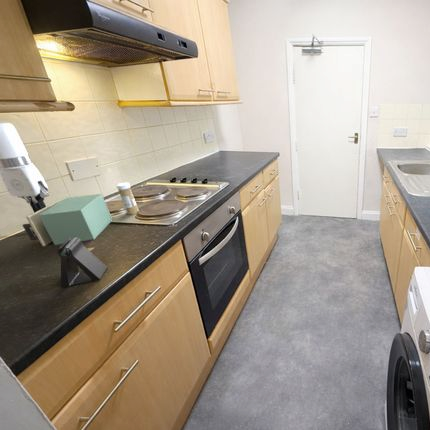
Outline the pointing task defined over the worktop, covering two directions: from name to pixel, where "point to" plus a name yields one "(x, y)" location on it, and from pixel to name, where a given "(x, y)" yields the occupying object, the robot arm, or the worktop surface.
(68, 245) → the phone stand
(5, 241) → the worktop surface
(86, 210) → the teal rectangular block
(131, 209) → the sprinkles bottle
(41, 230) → the door
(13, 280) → the worktop surface
